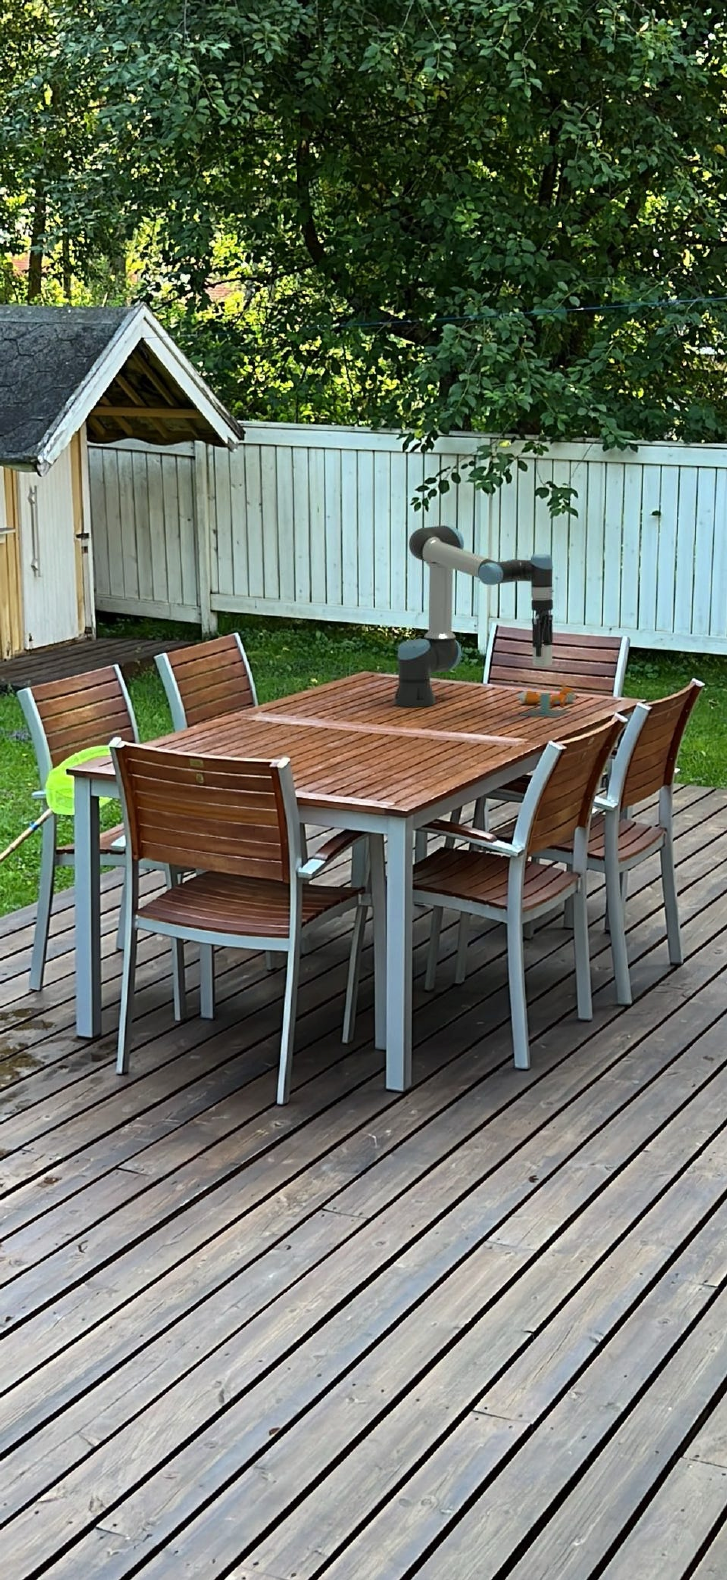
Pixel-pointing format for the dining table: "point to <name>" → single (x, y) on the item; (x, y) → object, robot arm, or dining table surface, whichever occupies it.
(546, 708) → the post
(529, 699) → the toy
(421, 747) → the dining table surface
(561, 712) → the mat
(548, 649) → the light grey block
